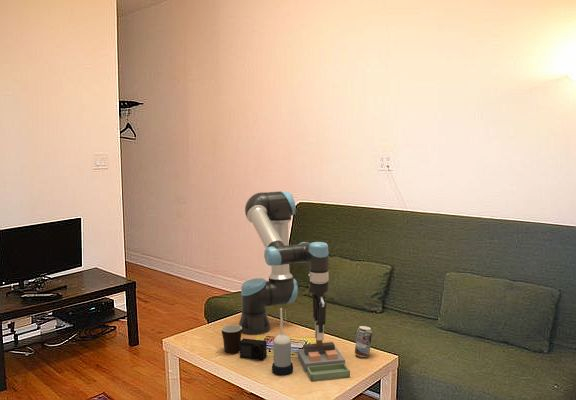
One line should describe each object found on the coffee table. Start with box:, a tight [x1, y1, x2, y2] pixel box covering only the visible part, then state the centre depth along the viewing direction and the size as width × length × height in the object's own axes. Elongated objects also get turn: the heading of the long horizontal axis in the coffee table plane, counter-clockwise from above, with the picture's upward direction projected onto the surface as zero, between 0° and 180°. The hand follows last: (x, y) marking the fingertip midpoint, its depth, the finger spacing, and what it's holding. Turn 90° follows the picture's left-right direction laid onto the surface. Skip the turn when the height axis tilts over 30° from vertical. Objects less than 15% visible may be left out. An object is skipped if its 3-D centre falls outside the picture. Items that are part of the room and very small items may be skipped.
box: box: [306, 362, 351, 382], centre depth 193 cm, size 7×15×2 cm, turn 101°
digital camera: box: [239, 338, 268, 361], centre depth 209 cm, size 10×5×7 cm, turn 73°
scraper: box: [303, 320, 336, 355], centre depth 205 cm, size 3×12×13 cm, turn 101°
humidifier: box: [271, 307, 294, 377], centre depth 196 cm, size 8×8×25 cm
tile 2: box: [325, 350, 338, 360], centre depth 201 cm, size 4×4×2 cm
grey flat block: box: [296, 346, 346, 374], centre depth 204 cm, size 14×16×4 cm
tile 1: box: [308, 352, 321, 361], centre depth 200 cm, size 4×4×2 cm
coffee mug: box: [221, 324, 243, 355], centre depth 218 cm, size 12×9×10 cm
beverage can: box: [354, 325, 373, 358], centre depth 210 cm, size 6×7×12 cm
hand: (319, 338), depth 205 cm, fingers closed on scraper, 2 cm apart
